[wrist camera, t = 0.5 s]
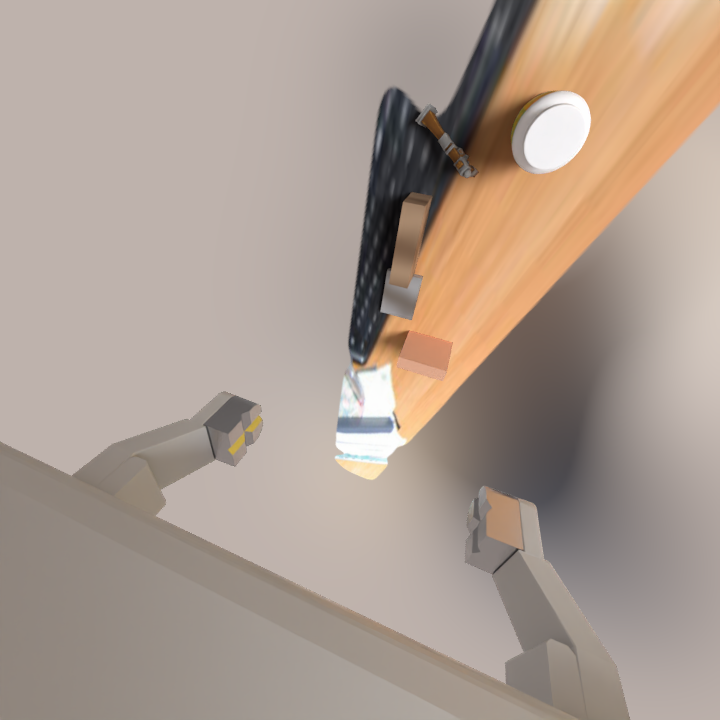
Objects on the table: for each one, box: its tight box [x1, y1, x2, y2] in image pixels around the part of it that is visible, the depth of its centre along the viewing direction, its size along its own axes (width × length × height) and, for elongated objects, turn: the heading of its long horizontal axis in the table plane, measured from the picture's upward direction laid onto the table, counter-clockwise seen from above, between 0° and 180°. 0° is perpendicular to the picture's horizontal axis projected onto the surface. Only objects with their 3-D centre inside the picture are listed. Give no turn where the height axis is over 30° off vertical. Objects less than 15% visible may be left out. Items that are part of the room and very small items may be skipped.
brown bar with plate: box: [380, 192, 432, 320], centre depth 40 cm, size 17×5×4 cm, turn 175°
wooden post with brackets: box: [416, 103, 479, 178], centre depth 32 cm, size 2×8×4 cm, turn 51°
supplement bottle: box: [511, 91, 591, 174], centre depth 26 cm, size 5×5×10 cm
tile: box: [397, 330, 453, 381], centre depth 47 cm, size 2×7×7 cm, turn 85°
